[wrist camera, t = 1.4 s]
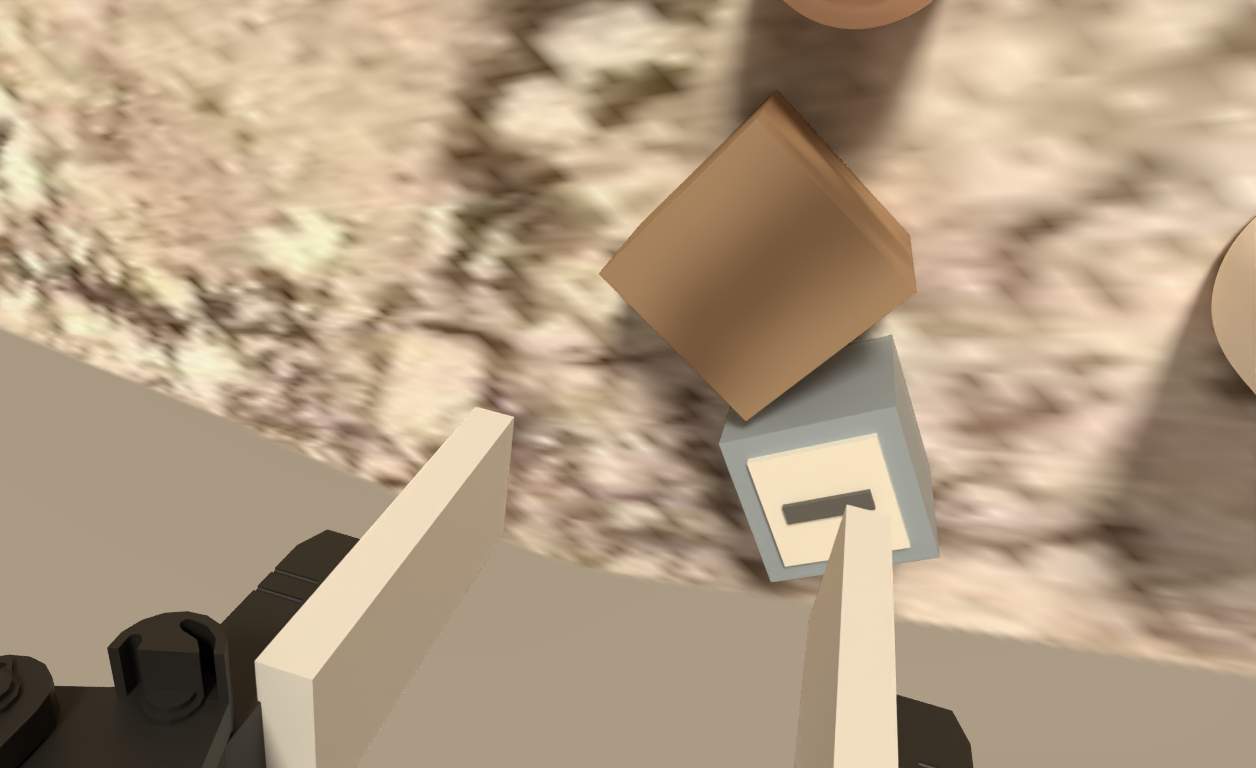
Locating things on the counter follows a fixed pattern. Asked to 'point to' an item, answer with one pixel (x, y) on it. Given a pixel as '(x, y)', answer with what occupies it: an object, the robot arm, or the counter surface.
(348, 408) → the counter surface
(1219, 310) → the cup
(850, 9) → the terracotta cylinder
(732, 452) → the slate block
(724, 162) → the walnut block
